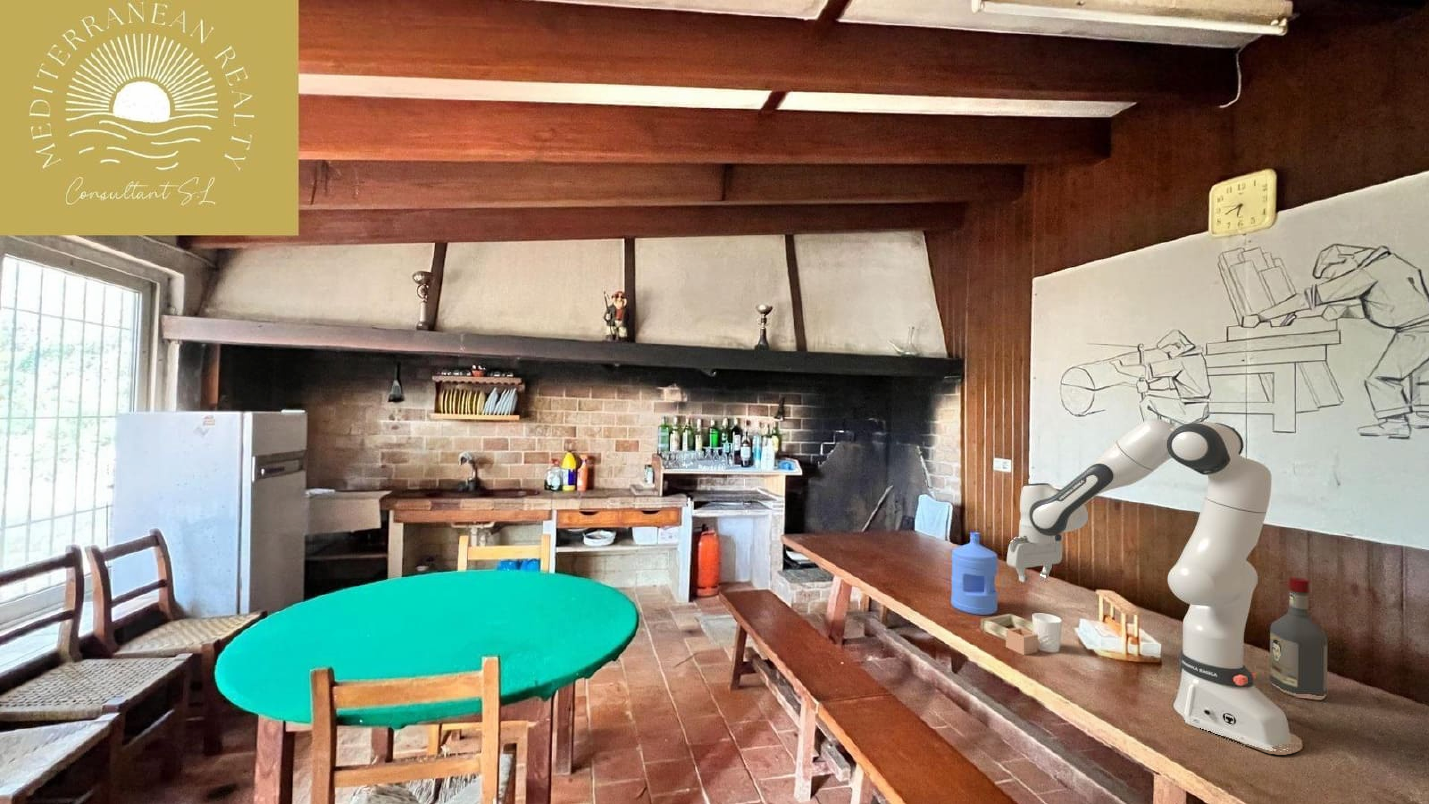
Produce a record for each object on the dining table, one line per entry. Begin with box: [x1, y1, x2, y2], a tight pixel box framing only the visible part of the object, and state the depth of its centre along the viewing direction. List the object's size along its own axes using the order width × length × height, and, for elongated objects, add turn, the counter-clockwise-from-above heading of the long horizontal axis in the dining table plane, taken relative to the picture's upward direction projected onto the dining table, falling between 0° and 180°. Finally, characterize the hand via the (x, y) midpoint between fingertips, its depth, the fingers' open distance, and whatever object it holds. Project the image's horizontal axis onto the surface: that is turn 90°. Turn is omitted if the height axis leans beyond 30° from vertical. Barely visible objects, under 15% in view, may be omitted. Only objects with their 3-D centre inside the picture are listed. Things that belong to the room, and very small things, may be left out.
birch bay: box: [980, 613, 1033, 641], centre depth 184 cm, size 13×14×4 cm
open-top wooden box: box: [1005, 627, 1039, 656], centre depth 171 cm, size 6×6×6 cm
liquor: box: [1269, 576, 1328, 696], centre depth 149 cm, size 9×9×30 cm
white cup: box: [1031, 612, 1063, 653], centre depth 173 cm, size 8×8×10 cm
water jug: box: [950, 531, 999, 616], centre depth 209 cm, size 16×16×28 cm
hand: (1033, 579), depth 173 cm, fingers open, 8 cm apart
